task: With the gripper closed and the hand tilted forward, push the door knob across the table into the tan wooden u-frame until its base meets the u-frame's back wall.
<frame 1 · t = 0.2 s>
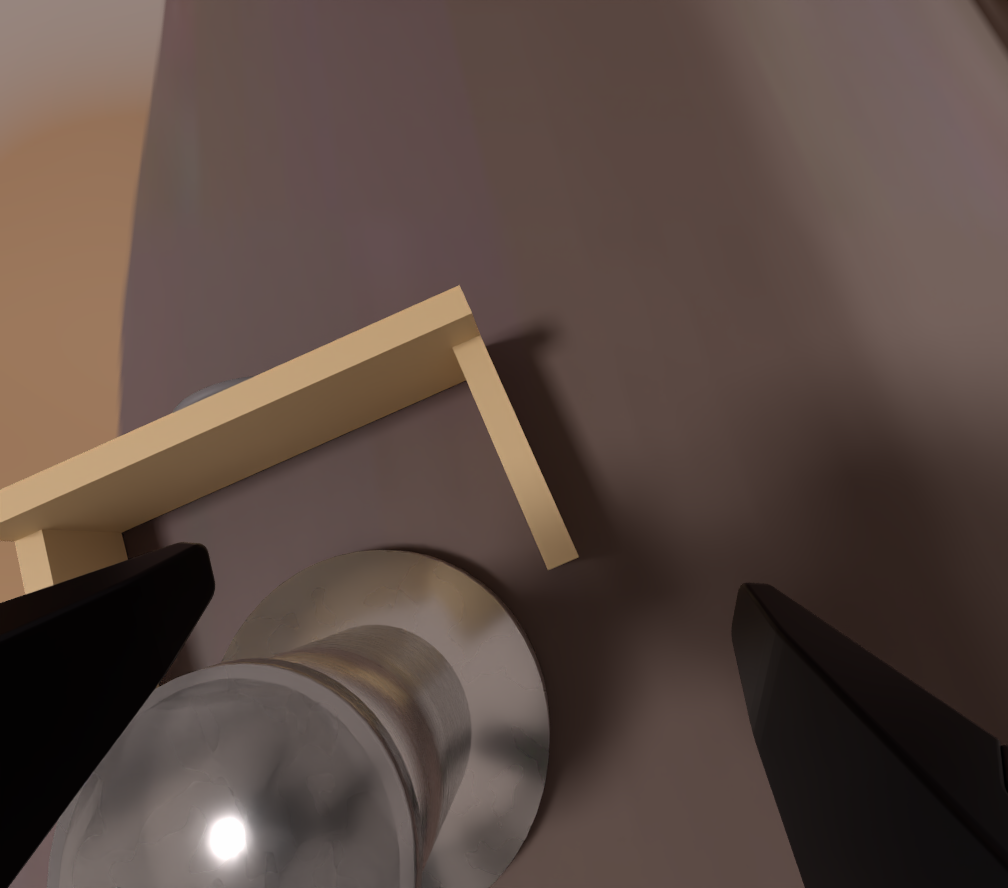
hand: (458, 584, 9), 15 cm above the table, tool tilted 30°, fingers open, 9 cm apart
door knob: (383, 718, 23), on the table
tan wooden u-frame: (316, 521, 25), on the table
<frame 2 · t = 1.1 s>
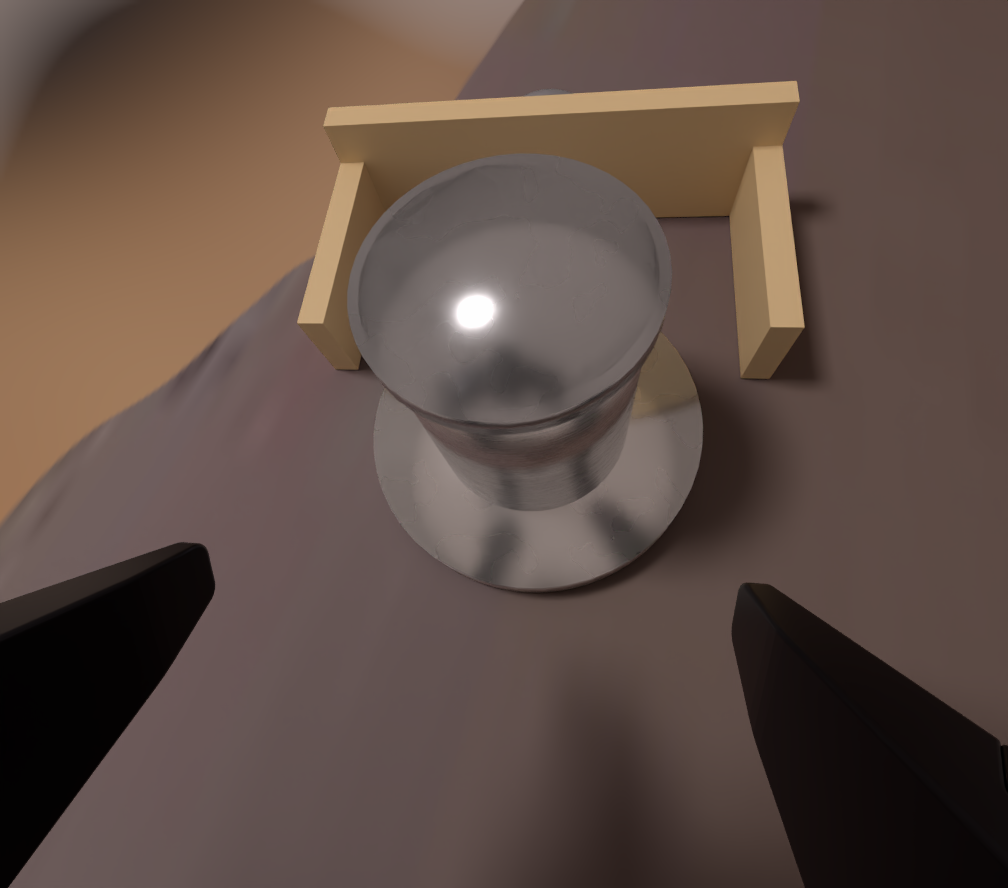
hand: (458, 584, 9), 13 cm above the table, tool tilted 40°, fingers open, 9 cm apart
door knob: (534, 433, 24), on the table
tan wooden u-frame: (547, 270, 27), on the table
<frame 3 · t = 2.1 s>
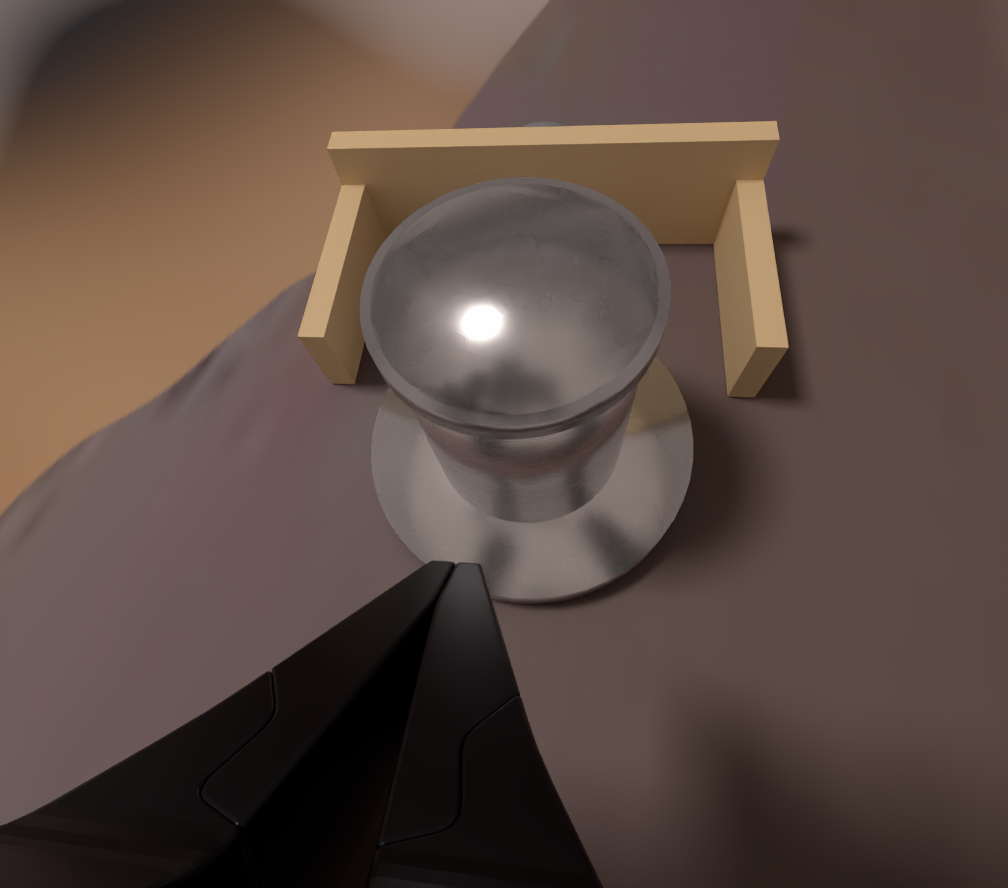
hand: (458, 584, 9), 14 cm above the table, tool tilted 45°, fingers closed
door knob: (529, 448, 25), on the table
tan wooden u-frame: (541, 291, 28), on the table
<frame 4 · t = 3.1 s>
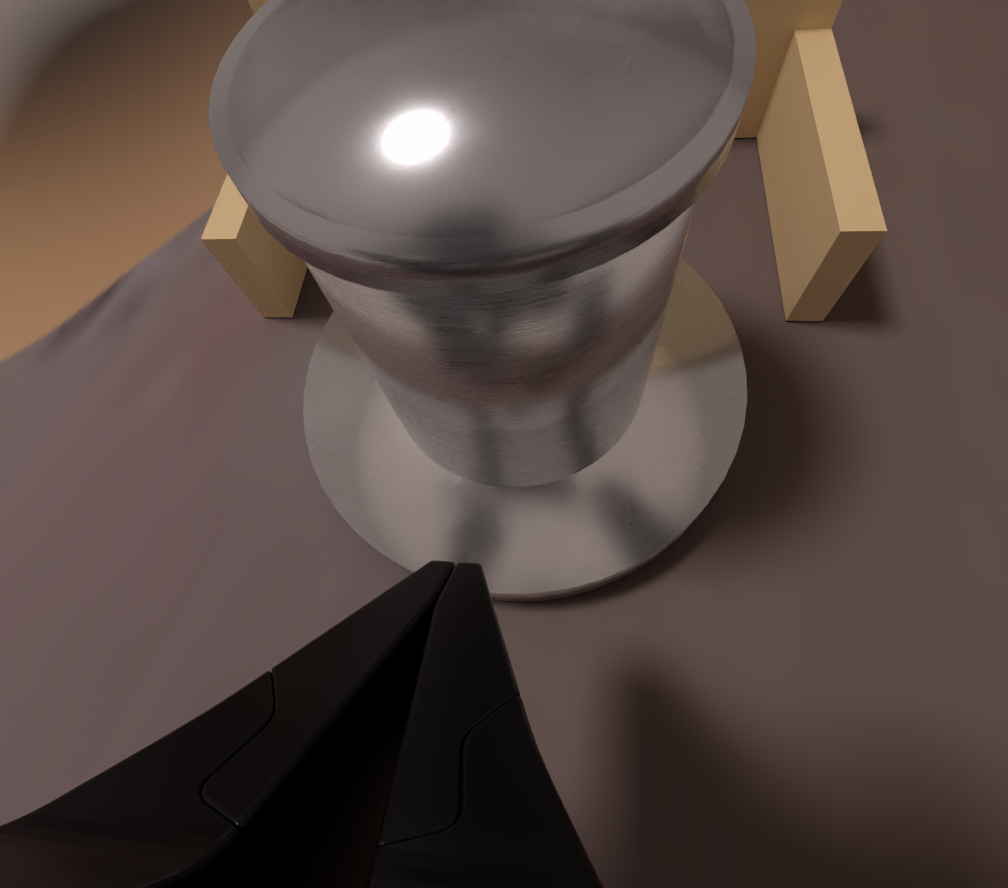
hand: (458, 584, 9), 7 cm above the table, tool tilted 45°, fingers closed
door knob: (520, 392, 19), on the table
tan wooden u-frame: (535, 199, 22), on the table
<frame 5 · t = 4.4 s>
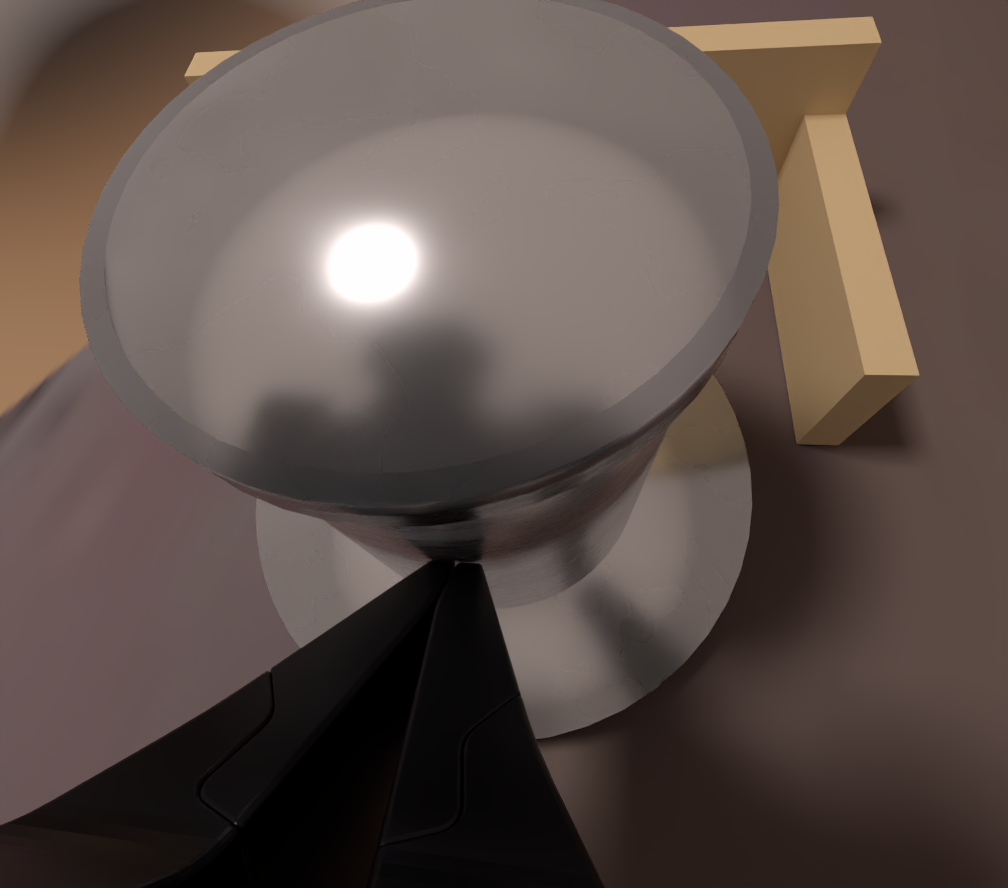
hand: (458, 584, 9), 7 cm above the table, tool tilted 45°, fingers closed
door knob: (500, 482, 17), on the table, touching gripper
tan wooden u-frame: (515, 288, 20), on the table
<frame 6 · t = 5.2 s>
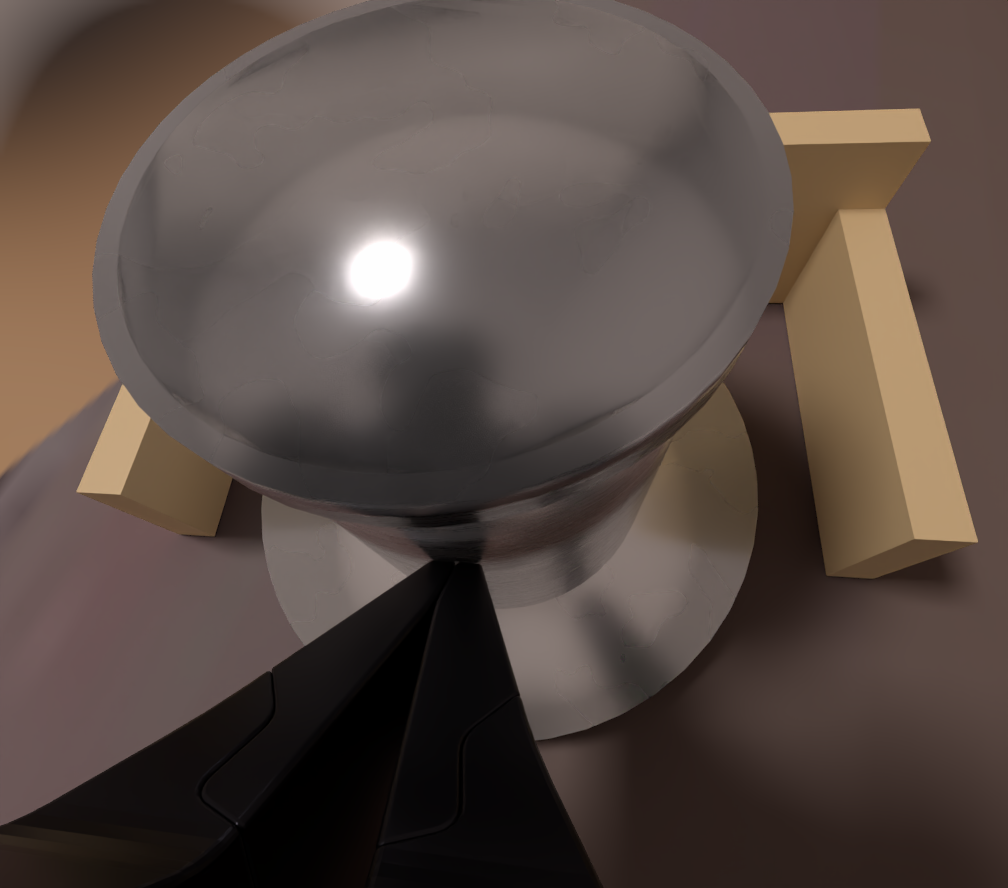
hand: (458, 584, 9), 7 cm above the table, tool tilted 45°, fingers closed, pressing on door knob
door knob: (505, 482, 17), on the table, touching gripper
tan wooden u-frame: (515, 378, 18), on the table
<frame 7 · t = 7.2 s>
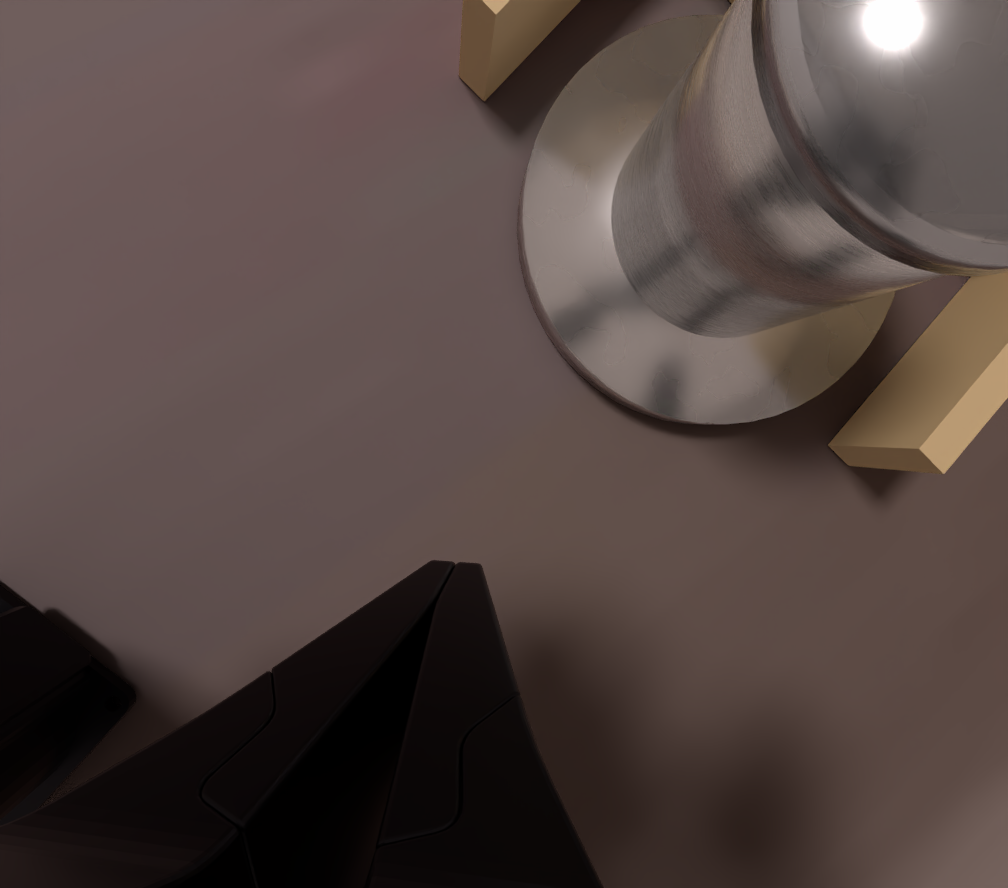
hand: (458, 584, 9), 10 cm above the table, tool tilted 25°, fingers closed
door knob: (702, 237, 20), on the table
tan wooden u-frame: (767, 166, 20), on the table
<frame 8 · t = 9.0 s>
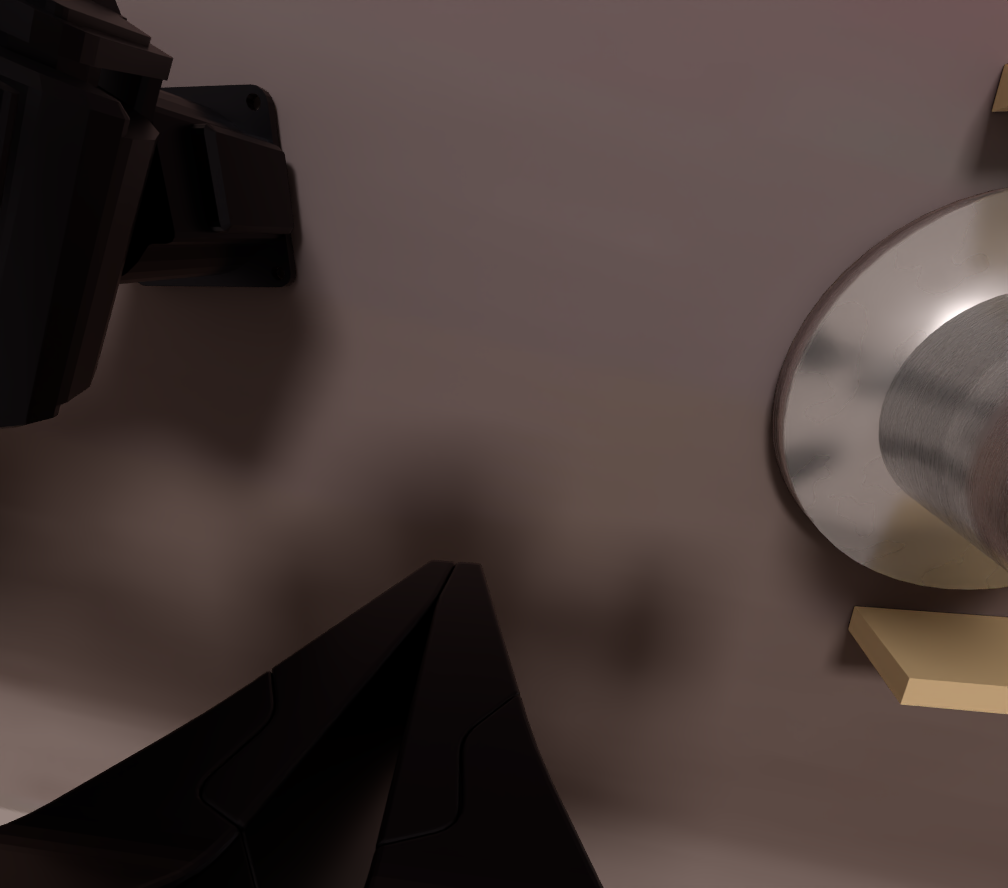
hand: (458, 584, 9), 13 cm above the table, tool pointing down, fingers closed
door knob: (979, 399, 19), on the table
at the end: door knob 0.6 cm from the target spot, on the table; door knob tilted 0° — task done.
